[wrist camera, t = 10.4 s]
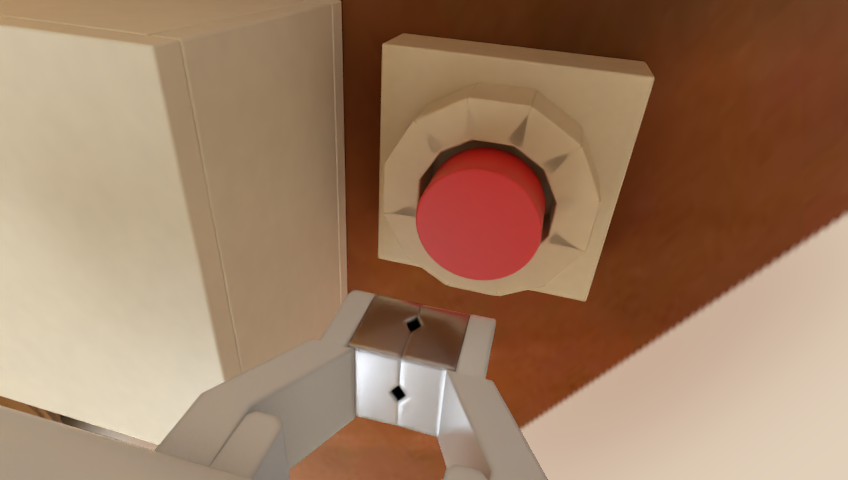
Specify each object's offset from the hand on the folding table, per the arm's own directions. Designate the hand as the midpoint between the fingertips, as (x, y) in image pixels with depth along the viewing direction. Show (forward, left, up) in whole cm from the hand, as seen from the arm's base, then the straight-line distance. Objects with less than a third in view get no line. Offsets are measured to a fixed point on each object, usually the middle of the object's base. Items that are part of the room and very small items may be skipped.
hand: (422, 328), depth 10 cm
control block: (0, 0, -10) cm, 10 cm away
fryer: (+12, +2, -10) cm, 15 cm away
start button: (0, 0, -6) cm, 6 cm away
